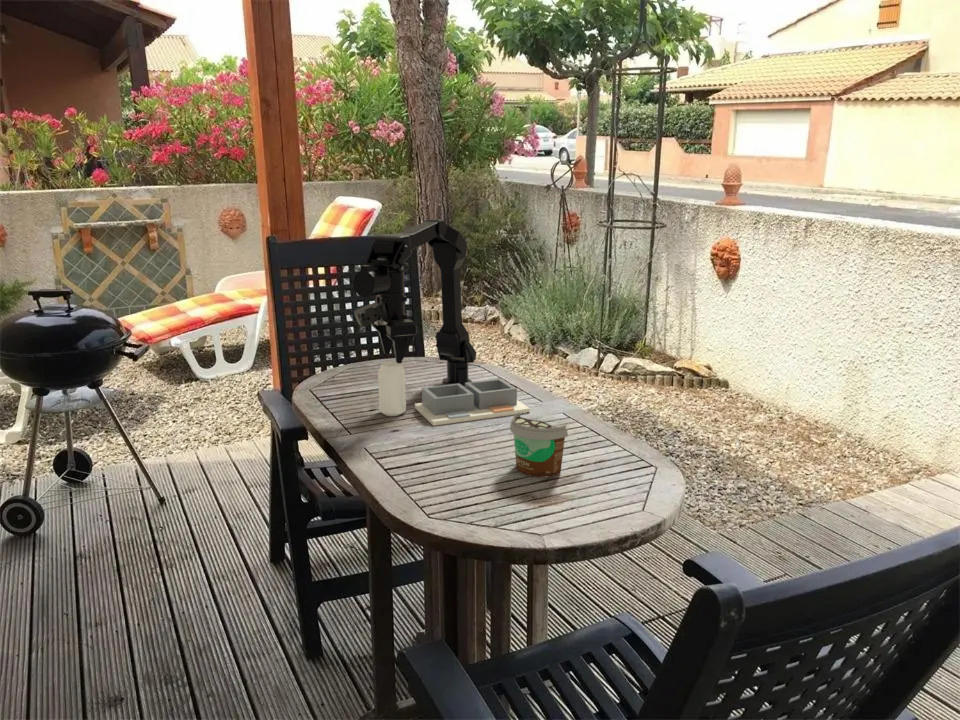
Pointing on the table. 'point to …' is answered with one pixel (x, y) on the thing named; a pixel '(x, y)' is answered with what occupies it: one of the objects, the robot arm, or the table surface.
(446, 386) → the socket board
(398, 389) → the beverage can
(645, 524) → the table surface
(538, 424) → the food container
